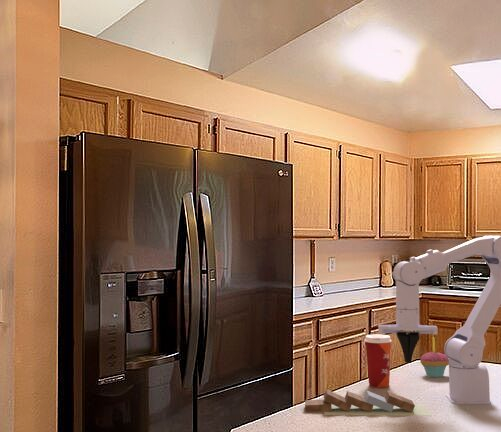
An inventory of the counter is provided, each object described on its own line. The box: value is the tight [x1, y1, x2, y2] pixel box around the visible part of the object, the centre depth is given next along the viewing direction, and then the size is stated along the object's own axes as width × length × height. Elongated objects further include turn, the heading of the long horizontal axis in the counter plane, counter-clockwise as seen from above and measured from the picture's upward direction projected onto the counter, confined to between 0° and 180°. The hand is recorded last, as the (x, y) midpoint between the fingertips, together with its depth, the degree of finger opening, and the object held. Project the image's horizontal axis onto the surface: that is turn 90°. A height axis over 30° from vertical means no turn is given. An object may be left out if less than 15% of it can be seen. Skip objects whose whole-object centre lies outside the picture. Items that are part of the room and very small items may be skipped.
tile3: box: [344, 390, 374, 412], centre depth 149 cm, size 2×4×6 cm
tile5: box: [304, 398, 332, 413], centre depth 150 cm, size 2×4×6 cm
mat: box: [323, 404, 432, 417], centre depth 149 cm, size 25×9×1 cm, turn 84°
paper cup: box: [364, 333, 393, 389], centre depth 173 cm, size 8×8×14 cm
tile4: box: [323, 388, 352, 412], centre depth 150 cm, size 2×4×6 cm
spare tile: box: [363, 390, 394, 412], centre depth 149 cm, size 2×4×6 cm
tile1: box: [384, 390, 416, 412], centre depth 148 cm, size 2×4×6 cm
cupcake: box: [419, 334, 449, 378], centre depth 184 cm, size 9×8×12 cm
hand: (407, 362), depth 155 cm, fingers closed
